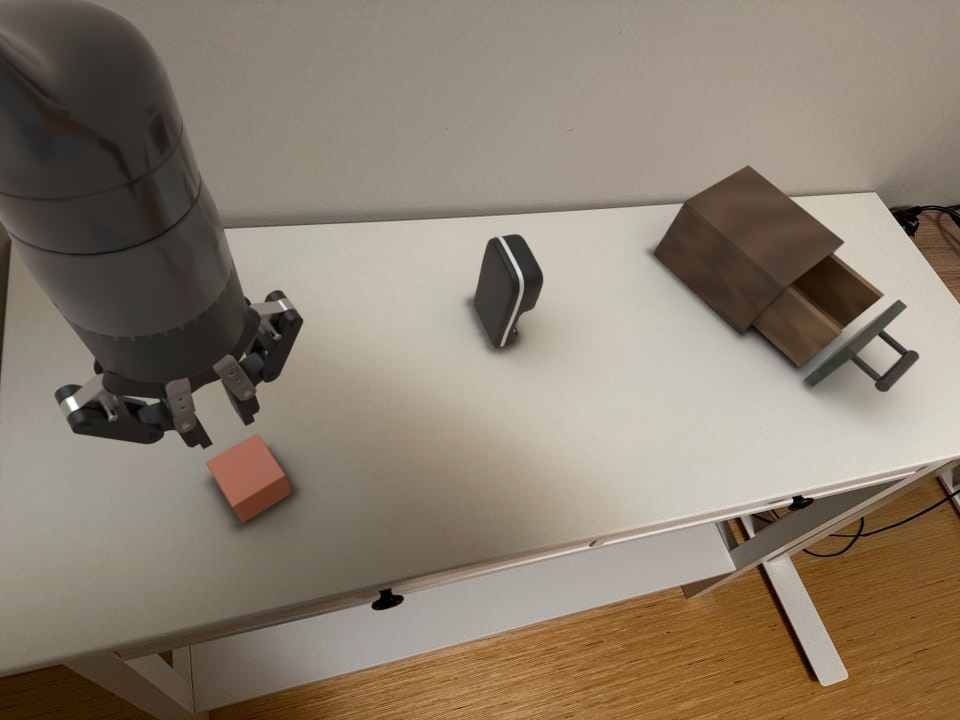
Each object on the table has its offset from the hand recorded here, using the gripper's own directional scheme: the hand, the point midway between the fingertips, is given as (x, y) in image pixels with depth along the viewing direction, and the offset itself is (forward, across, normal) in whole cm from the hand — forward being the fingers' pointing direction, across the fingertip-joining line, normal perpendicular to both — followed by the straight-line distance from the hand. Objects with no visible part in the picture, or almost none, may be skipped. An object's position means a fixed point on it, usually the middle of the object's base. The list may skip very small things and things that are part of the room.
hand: (223, 424), depth 41 cm
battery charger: (+13, +30, +2) cm, 33 cm away
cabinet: (+13, +60, -8) cm, 62 cm away
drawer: (+12, +60, -21) cm, 65 cm away
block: (+13, 0, 0) cm, 13 cm away
